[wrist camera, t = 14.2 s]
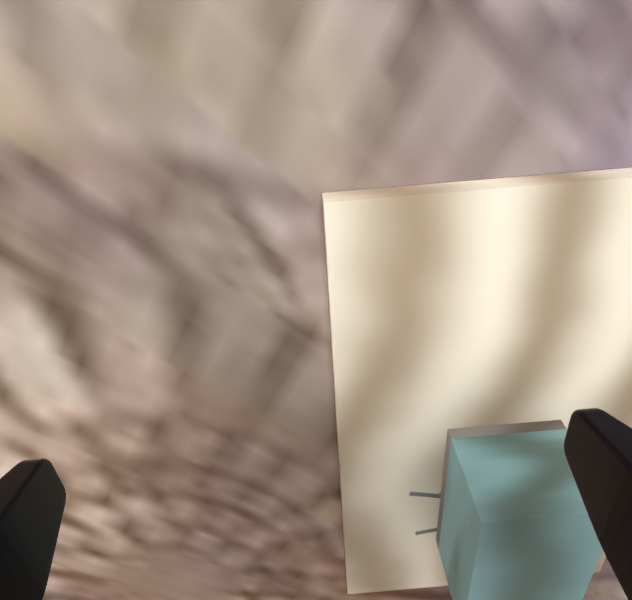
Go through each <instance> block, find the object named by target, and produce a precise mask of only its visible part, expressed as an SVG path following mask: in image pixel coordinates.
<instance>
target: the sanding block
mask: <svg viewBox="0 0 632 600" xmlns="http://www.w3.org/2000/svg"><path fill="white" fill-rule="evenodd" d="M566 432H567V429H566V427H565V426H564V424H563V423H562V421H561V420H552V421H540V422H528V423H516V424H504V425H492V426H480V427H468V428H456V429H448V430H447V439H446V449H445V458H444V468H443V477H442V487H441V496H440V506H439V515H438V525H437V534H436V542H437V546H438V550H439V553H440V557H441V561H442V564H443V568H444V572H445V575H446V579H447V583H448V586H449V590H450V594H451V598H452V600H583V597H584V595H585V592H586V590H587V588H588V585H589V583H590V580H591V578H592V575H593V573H594V570H595V568H596V566H597V563H598V561H599V558H600V556H601V553H602V551H603V549H602V547H601V545H600V543H599V540H598V538H597V536H596V533H595V531H594V528H593V526H592V523H591V521H590V518H589V516H588V513H587V511H586V508H585V505H584V503H583V500H582V498H581V495H580V492H579V490H578V487H577V485H576V482H575V480H574V477H573V474H572V472H571V469H570V467H569V464H568V462H567V459H566V456H565V452H564V440H565V436H566Z"/></svg>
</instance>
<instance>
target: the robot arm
mask: <svg viewBox="0 0 632 600" xmlns="http://www.w3.org/2000/svg"><path fill="white" fill-rule="evenodd" d="M564 452H565V456H566V459H567V462H568V464H569V467H570V469H571V472H572V474H573V477H574V480H575V482H576V485H577V487H578V490H579V492H580V495H581V498H582V500H583V503H584V505H585V508H586V511H587V513H588V516H589V518H590V521H591V523H592V526H593V528H594V531H595V533H596V536H597V538H598V540H599V543H600V545H601V547H602V549H603V551H604V553H605V555H606V557H607V559H608V561H609V563H610V565H611V567H612V569H613V571H614V573H615V575H616V577H617V578H618V580H619V582H620V584H621V586H622V588H623V590H624V592H625V594H626V596H627V598H628V600H632V428H631V427H629V426H627V425H626V424H624V423H623V422H621V421H620V420H618V419H616V418H615V417H613V416H612V415H610V414H608V413H607V412H605V411H604V410H602V409H599V408H588V409H578V410H575V411H574V412H573V413H572V415H571V417H570V421H569V425H568V429H567V432H566V436H565V440H564ZM65 502H66V492H65V488H64V486H63V484H62V482H61V480H60V478H59V477H58V475H57V473H56V471H55V469H54V467H53V465H52V463H51V462H50V461H49V460H47V459H44V458H43V459H32V460H24V461H22V462H20V463H18V464H17V465H16V466H15V467H13V468H12V469H11V470H10V471H9V472H8V473H6V474H5V475H4V476H3V477H2V478H1V479H0V600H42V599H43V596H44V593H45V589H46V585H47V581H48V577H49V573H50V568H51V564H52V560H53V555H54V551H55V546H56V542H57V538H58V533H59V529H60V524H61V520H62V516H63V511H64V507H65Z"/></svg>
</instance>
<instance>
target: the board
mask: <svg viewBox="0 0 632 600" xmlns="http://www.w3.org/2000/svg"><path fill="white" fill-rule="evenodd" d="M322 201H323V217H324V233H325V249H326V265H327V281H328V297H329V313H330V329H331V345H332V361H333V377H334V393H335V409H336V425H337V441H338V457H339V473H340V489H341V505H342V521H343V537H344V553H345V569H346V582H347V592H348V594H356V593H368V592H379V591H391V590H402V589H413V588H425V587H436V586H448V583H447V579H446V575H445V572H444V568H443V564H442V561H441V557H440V553H439V550H438V546H437V542H436V534H437V525H438V515H439V506H440V496H441V487H442V477H443V468H444V458H445V449H446V439H447V430H448V429H456V428H468V427H480V426H492V425H504V424H516V423H528V422H540V421H552V420H561V421H562V423H563V424H564V426H565V427H566V429H568V425H569V421H570V417H571V415H572V413H573V412H574V411H575V410H578V409H588V408H599V409H602V410H604V411H605V412H607V413H608V414H610V415H612V416H613V417H615V418H616V419H618V420H620V421H621V422H623V423H624V424H626V425H627V426H629V427H631V428H632V168H621V169H609V170H597V171H585V172H572V173H560V174H548V175H536V176H523V177H511V178H499V179H486V180H474V181H462V182H450V183H437V184H425V185H413V186H401V187H388V188H376V189H364V190H352V191H339V192H327V193H322ZM605 559H606V555H605V553H604V551H602V553H601V556H600V558H599V561H598V563H597V566H596V568H595V570H594V573H596V572H600V571H601V568H602V566H603V563H604V561H605Z"/></svg>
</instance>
